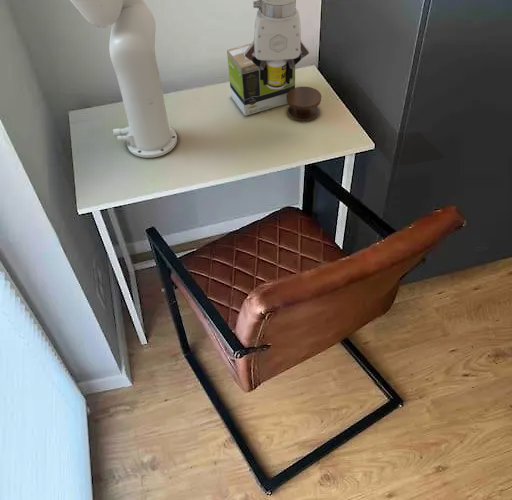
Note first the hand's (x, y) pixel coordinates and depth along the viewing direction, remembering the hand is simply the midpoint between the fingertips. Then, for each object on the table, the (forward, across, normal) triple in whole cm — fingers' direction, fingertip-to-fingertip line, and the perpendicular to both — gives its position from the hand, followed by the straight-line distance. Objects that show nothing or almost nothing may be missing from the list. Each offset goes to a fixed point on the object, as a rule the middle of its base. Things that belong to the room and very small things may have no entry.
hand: (276, 80), depth 135 cm
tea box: (+15, -2, +15) cm, 22 cm away
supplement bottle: (+1, 0, 0) cm, 1 cm away
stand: (+15, +8, +8) cm, 19 cm away
